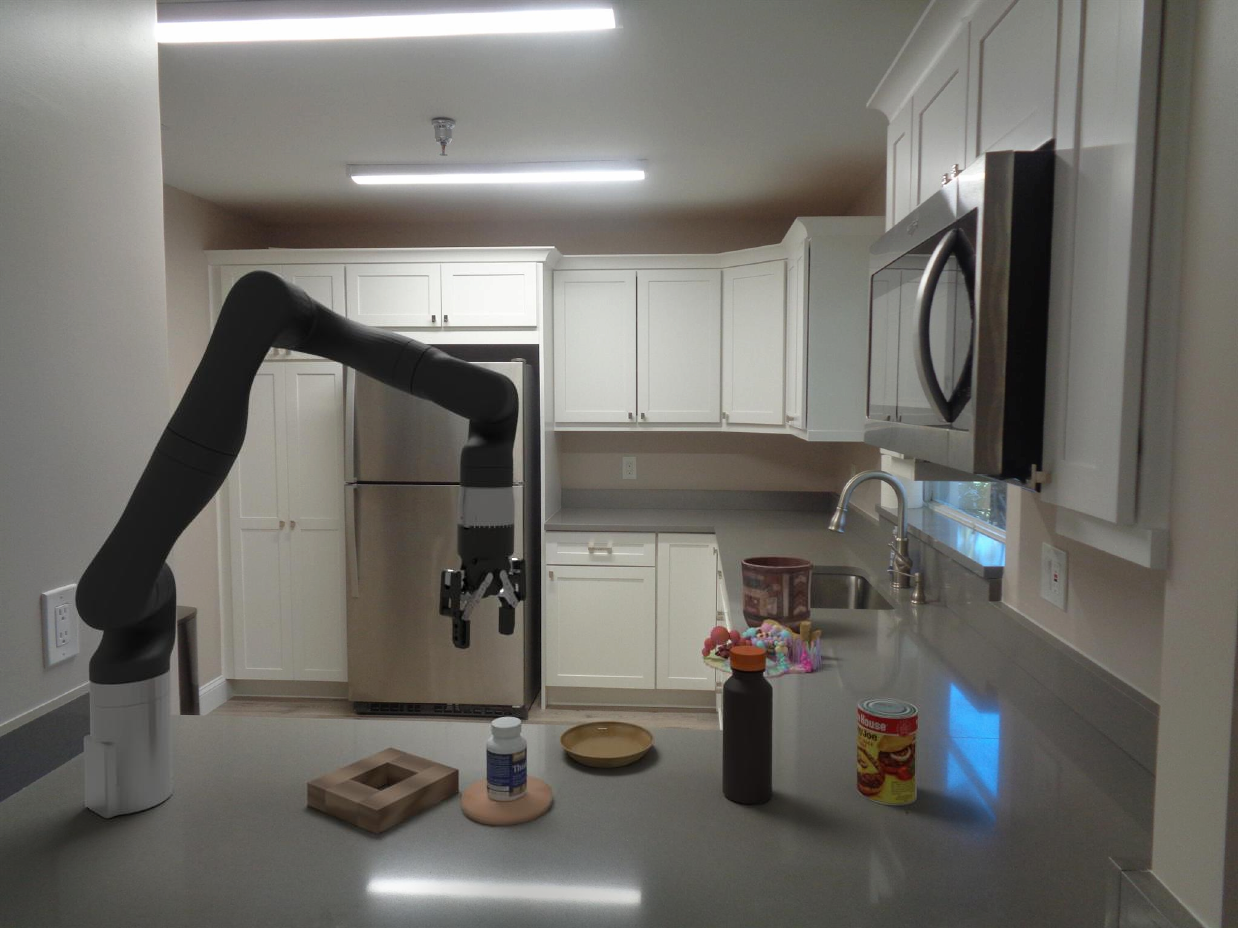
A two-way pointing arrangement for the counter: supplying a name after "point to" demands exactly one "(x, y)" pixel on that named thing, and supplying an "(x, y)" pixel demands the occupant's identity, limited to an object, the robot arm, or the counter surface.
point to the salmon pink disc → (506, 804)
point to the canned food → (887, 750)
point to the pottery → (776, 591)
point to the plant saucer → (606, 743)
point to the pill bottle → (506, 760)
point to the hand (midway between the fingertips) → (484, 640)
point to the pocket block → (379, 810)
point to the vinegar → (747, 728)
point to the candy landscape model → (767, 648)
